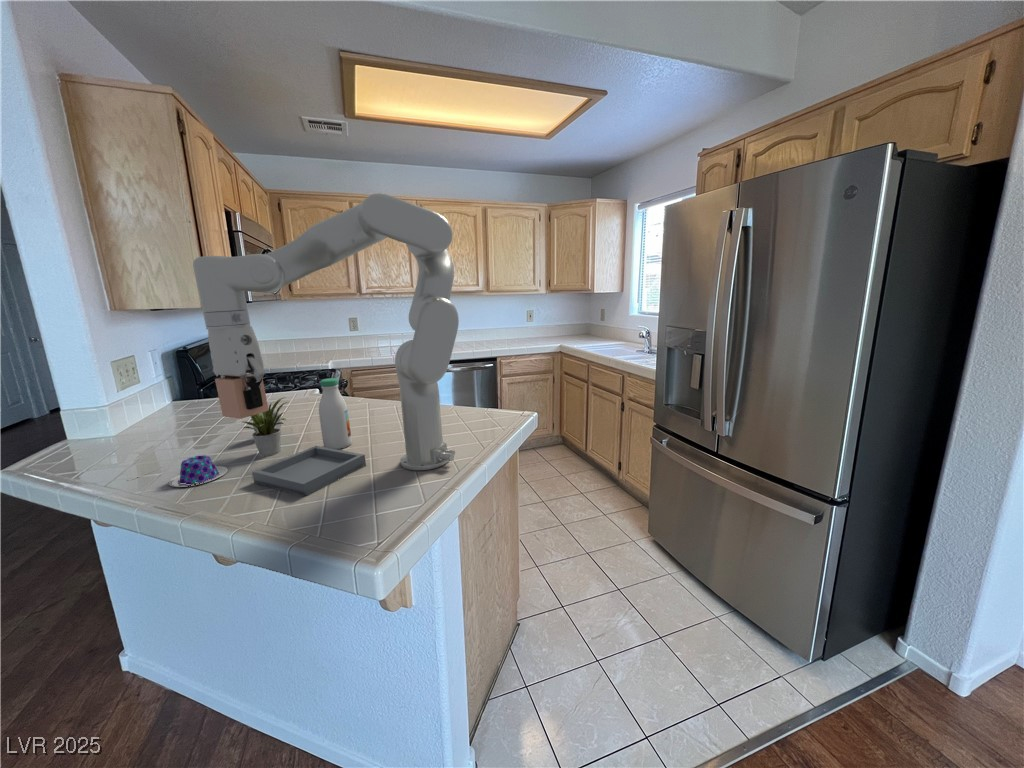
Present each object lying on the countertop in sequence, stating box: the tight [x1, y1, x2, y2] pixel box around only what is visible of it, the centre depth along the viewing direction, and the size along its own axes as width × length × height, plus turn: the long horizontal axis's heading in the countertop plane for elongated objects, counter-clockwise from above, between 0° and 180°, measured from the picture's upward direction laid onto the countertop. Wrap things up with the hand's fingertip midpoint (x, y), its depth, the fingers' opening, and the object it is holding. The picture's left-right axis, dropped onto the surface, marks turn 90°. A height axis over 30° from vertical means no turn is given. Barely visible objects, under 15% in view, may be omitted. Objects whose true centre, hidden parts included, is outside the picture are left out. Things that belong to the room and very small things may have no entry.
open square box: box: [214, 373, 269, 420], centre depth 88 cm, size 6×6×8 cm
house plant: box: [242, 396, 289, 457], centre depth 120 cm, size 14×14×16 cm
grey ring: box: [252, 405, 283, 433], centre depth 134 cm, size 10×4×10 cm, turn 166°
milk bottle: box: [318, 377, 353, 450], centre depth 122 cm, size 8×8×20 cm
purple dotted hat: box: [168, 454, 228, 488], centre depth 105 cm, size 12×12×5 cm
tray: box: [251, 445, 367, 497], centre depth 105 cm, size 18×18×3 cm
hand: (244, 405), depth 89 cm, fingers closed on open square box, 6 cm apart
